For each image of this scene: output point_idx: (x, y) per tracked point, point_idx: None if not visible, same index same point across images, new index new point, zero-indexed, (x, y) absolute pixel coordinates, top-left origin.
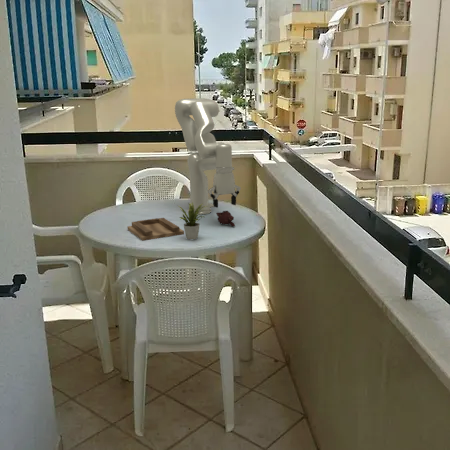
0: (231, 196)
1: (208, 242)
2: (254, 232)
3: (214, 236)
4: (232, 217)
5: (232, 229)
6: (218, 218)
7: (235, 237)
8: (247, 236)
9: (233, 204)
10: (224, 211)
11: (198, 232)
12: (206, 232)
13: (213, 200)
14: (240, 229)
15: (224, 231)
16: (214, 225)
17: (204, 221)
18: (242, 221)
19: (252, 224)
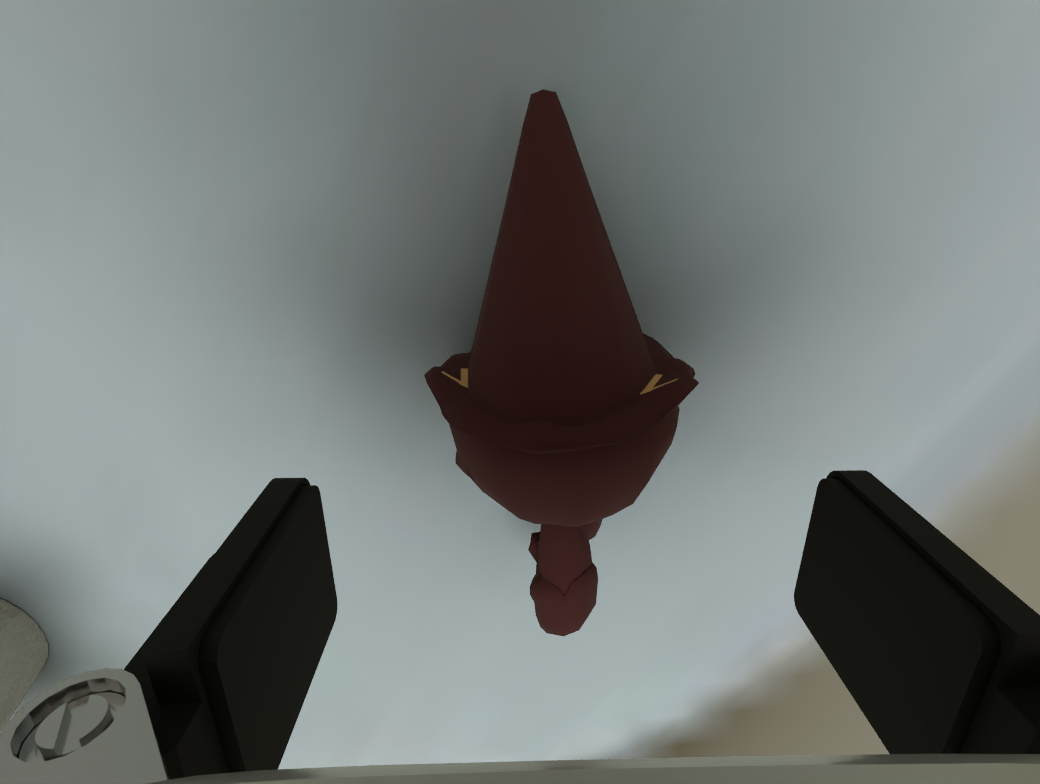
0: (1008, 628)
1: None
2: (650, 726)
3: None
4: (559, 632)
5: (514, 575)
6: (435, 387)
7: None
8: None
9: (804, 574)
10: (556, 450)
11: (5, 722)
12: (185, 548)
13: (144, 675)
14: (592, 609)
15: (397, 597)
16: (386, 336)
17: (318, 19)
18: (846, 344)
19: None
